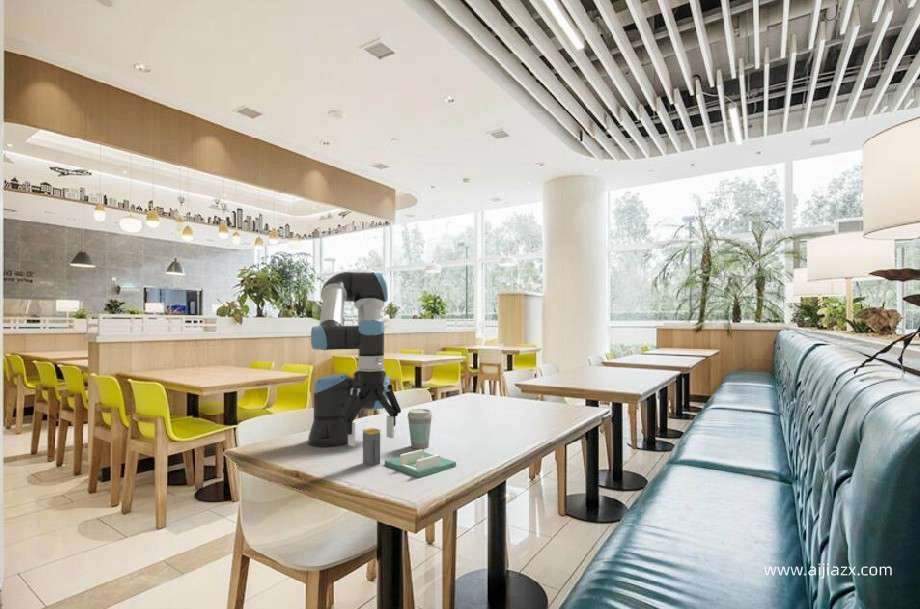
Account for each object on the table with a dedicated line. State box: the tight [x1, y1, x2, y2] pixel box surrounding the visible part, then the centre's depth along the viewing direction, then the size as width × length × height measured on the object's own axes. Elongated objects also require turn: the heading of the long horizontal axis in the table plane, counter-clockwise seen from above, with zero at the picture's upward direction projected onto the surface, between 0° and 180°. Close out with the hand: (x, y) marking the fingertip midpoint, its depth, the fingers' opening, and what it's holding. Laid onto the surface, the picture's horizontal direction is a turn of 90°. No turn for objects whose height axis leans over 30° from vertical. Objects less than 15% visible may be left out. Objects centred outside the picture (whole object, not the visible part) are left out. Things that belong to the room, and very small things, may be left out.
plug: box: [362, 427, 381, 467], centre depth 140 cm, size 5×4×10 cm
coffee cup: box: [406, 408, 433, 450], centre depth 158 cm, size 8×8×12 cm
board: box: [384, 449, 457, 478], centre depth 137 cm, size 16×14×4 cm
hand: (371, 441), depth 140 cm, fingers open, 13 cm apart
